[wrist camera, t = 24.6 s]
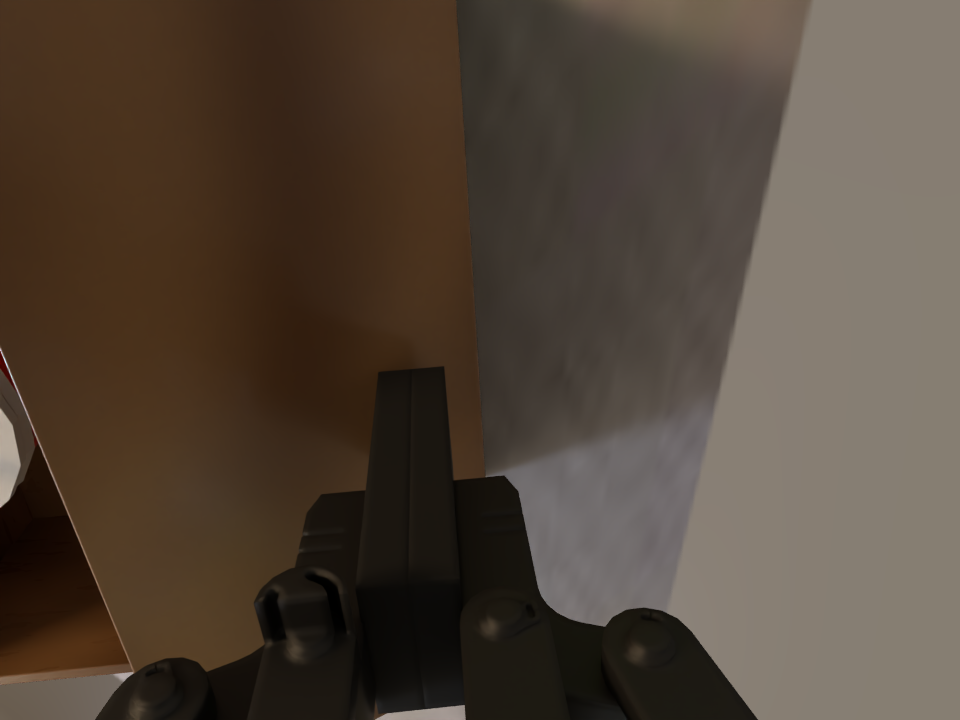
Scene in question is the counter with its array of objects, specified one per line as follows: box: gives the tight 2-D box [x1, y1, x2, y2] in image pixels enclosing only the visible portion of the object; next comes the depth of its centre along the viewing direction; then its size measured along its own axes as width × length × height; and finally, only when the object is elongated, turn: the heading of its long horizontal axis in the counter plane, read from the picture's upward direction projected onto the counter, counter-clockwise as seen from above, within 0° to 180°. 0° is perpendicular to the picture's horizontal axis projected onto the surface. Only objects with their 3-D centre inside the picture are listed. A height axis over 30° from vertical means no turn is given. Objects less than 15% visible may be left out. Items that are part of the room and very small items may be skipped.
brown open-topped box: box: [0, 443, 133, 685], centre depth 22 cm, size 19×20×8 cm
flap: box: [0, 0, 485, 720], centre depth 16 cm, size 9×20×1 cm, turn 4°
